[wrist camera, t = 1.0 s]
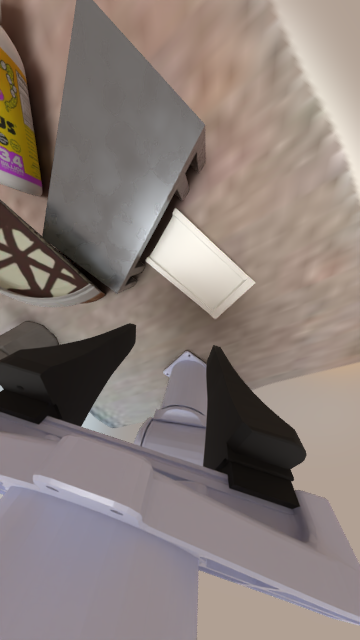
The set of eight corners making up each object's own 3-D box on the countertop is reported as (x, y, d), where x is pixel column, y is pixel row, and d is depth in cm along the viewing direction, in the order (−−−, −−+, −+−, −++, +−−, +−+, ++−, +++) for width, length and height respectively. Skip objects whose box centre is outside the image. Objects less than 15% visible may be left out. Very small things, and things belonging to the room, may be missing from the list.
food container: (7, 266, 18) (-130, 209, 9) (47, 240, 20) (-37, 167, 10) (82, 327, 21) (38, 334, 12) (112, 301, 22) (94, 288, 13)
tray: (250, 279, 17) (255, 282, 16) (214, 313, 20) (215, 319, 18) (178, 212, 16) (175, 207, 14) (150, 260, 18) (144, 261, 17)
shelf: (205, 162, 13) (205, 124, 9) (133, 286, 20) (117, 293, 17) (120, 73, 12) (78, -16, 8) (75, 240, 19) (42, 237, 15)
